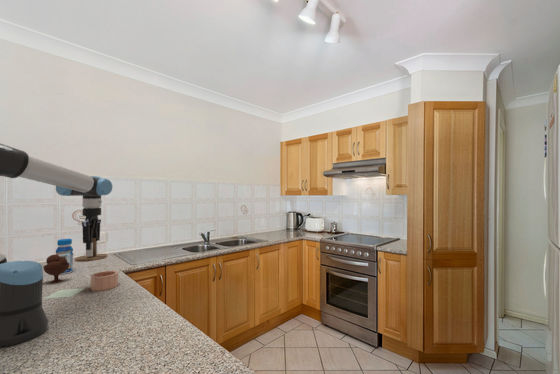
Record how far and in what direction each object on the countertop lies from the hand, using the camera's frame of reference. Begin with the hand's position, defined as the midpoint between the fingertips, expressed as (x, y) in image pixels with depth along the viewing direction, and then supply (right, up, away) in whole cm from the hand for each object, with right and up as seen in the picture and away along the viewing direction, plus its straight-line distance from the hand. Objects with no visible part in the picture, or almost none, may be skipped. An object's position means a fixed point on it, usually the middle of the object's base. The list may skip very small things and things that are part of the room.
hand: (91, 255), depth 128 cm
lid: (0, -1, 0) cm, 1 cm away
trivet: (-8, -17, -6) cm, 19 cm away
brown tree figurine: (-27, -18, +11) cm, 34 cm away
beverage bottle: (-38, -18, +30) cm, 52 cm away
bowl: (+5, -17, +2) cm, 18 cm away
